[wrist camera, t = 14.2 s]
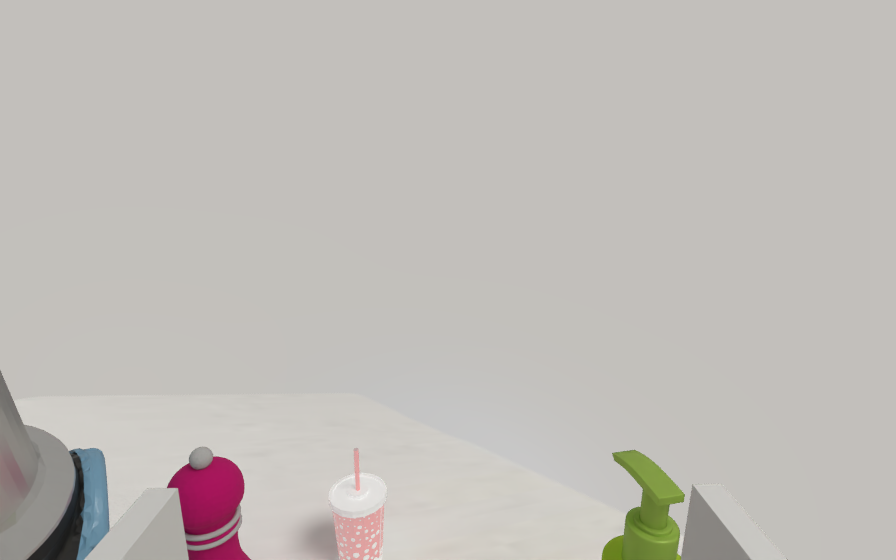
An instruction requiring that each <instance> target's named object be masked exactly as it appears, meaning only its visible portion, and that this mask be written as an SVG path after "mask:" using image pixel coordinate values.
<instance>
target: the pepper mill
mask: <svg viewBox="0 0 896 560" xmlns="http://www.w3.org/2000/svg"><path fill="white" fill-rule="evenodd" d="M167 488H178V493H179V499H180V505H181V512H182V518H183V525H184V531H185V538H186V544H187V551H188V557H189V560H251V559H250V558H249V557H248V556H247V555H246V554H245V553H244V552H243V551H242V549H241V547H240V544H239V539H238V529H239V528H240V526H241V523H242V515H241V506H240V502H241V500H242V498H243V494H244V479H243V476H242V473H241V471H240V469H239V468H238V466H237V465H236V464H234V463H233V462H232V461H230V460H228V459H226V458H222V457H213V453H212V451H211V450H210V449H209V448H207V447H199V448H197V449H195V450H194V451H193V452H192V453H191V454H190V457H189V464H187V465H185V466H184V467H182V468H181V469H180V470H179V471H178V472H176V474H175V475H174V476H173V477H172V479H171V481H170V482H169V484H168V487H167Z"/></svg>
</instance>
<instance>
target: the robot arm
mask: <svg viewBox="0 0 896 560" xmlns="http://www.w3.org/2000/svg"><path fill="white" fill-rule="evenodd" d="M0 560H189V557H188V551H187V544H186V538H185V531H184V525H183V518H182V512H181V505H180V499H179V493H178V488H147V489H146V490H145V491H144V492H143V493H142V495H141V496H140V497H139V498H138V499H137V500H136V501H135V502H134V504H133V505H132V506H131V507H130V508H129V509H128V510H127V512H126V513H125V514H124V515H123V516H122V517H121V518H120V519H119V521H118V522H117V523H116V524H115V525H114V526H113V527H112V528H111V530H110V531H109V507H108V491H107V477H106V465H105V458H104V455H103V453H102V451H100V450H99V449H96V448H90V449H84V450H82V449H80V448H79V449H74V450H71V451H68V449H67V448H66V446H65V445H64V444H63V443H62V442H61V441H60V440H59V439H57V438H56V437H55V436H53V435H51V434H50V433H48V432H46V431H44V430H41V429H38V428H35V427H32V426H27V425H24V424H23V422H22V420H21V417H20V415H19V413H18V410H17V408H16V406H15V403H14V401H13V399H12V397H11V394H10V392H9V390H8V387H7V385H6V383H5V380H4V378H3V376H2V373H1V371H0ZM681 560H788V559H787V558H786V557H785V556H784V555H783V554H782V553H781V551H780V550H779V549H778V548H777V547H776V546H775V545H774V543H773V542H772V541H771V540H770V539H769V538H768V537H767V536H766V534H765V533H764V532H763V531H762V530H761V529H760V528H759V526H758V525H757V524H756V523H755V522H754V520H753V519H752V518H751V517H750V516H749V515H748V514H747V512H746V511H745V510H744V509H743V508H742V507H741V506H740V504H739V503H738V502H737V501H736V500H735V499H734V498H733V496H732V495H731V494H730V493H729V492H728V491H727V490H726V488H725V487H724V486H723V485H722V484H693V485H692V491H691V497H690V503H689V510H688V516H687V523H686V529H685V536H684V542H683V548H682V555H681Z"/></svg>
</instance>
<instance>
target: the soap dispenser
mask: <svg viewBox="0 0 896 560" xmlns="http://www.w3.org/2000/svg"><path fill="white" fill-rule="evenodd" d="M612 454H613V457H614V460H615V461H616V462H617V463H618V464H620V465H621V466H622V467H623V468H625V469H626V470H627V471H628V472H629V473H630V475H631V476H632V477H633V478H634V479H635V480H636V481H637V483H638V484H639V485H640V486H641V487H642V488H643V493H642V501H641V507H636V508H633V509H631V510H630V511H629V512H628V513H627V515H626V520H625V529H624V535H622V536H618V537H615V538H613V539H612V540H610V541H609V542H608V543H607V544H606V546H605V547H604V549H603V553H602V560H681V556H680V555H678V554H677V551H678V544H679V538H680V530H679V527H678V525H677V524H676V522H675V521H674V520H673V519H672V518H671V517H670V516H668V512H669V505H670V504H675V503H680V502H684V496H685V494H684V493H683V492H682V491H681V490H680V489H679V487H678V486H676V484H675V483H674V482H673V481H672V480H671V479H670V478H669V477H668V476H667V475H666V473H665V472H664V471H663V470H661V468H660V467H659V466H658V465H656V464H655V463H654V462H653V461H652V460H650V459H649V458H648V457H646V456H645V455H643V454H642V453H640V452H638V451H636V450H630V451H623V452H616V453H612Z"/></svg>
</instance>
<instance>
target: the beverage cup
mask: <svg viewBox="0 0 896 560" xmlns="http://www.w3.org/2000/svg"><path fill="white" fill-rule="evenodd" d="M354 465H355V474H351V475H348V476H345V477H343V478H341V479H340V480H338V481H337V482H336V483H334V484H333V486H332V487H331V489H330V490H329V502H330V503H329V505H330V507H331V509H332V510H333V517H334V525H335V532H336V539H337V547H338V554H339V560H382V543H383V519H384V502H385V500H386V498H387V497H386V494H387V489H386V484H385V482H384V481H383V480H382V479H381V478H380V477H378V476H376V475H374V474H368V473H359V453H358V448H355V449H354Z"/></svg>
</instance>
